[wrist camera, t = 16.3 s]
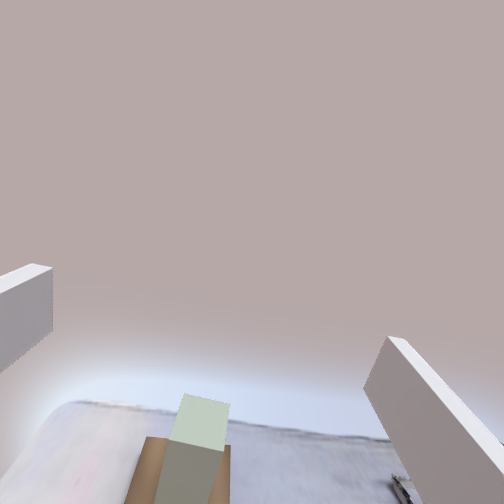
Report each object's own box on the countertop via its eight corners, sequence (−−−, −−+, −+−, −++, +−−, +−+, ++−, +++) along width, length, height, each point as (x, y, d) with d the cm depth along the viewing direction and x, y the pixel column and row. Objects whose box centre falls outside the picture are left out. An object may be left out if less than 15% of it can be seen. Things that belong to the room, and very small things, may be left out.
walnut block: (224, 465, 36) (230, 445, 34) (220, 589, 25) (228, 565, 24) (143, 458, 34) (146, 436, 33) (102, 585, 24) (105, 560, 23)
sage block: (208, 474, 31) (229, 404, 28) (199, 529, 26) (223, 451, 23) (167, 465, 30) (184, 393, 27) (150, 519, 26) (168, 439, 23)
